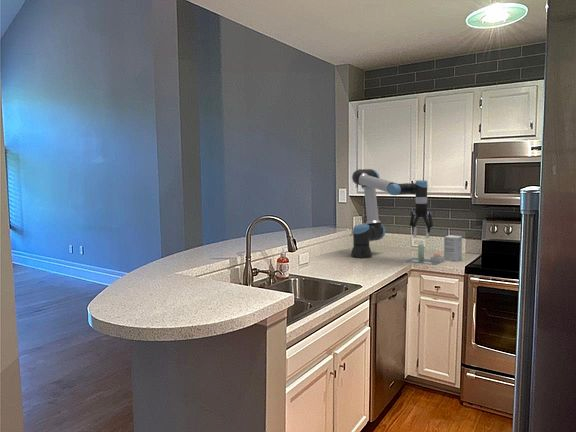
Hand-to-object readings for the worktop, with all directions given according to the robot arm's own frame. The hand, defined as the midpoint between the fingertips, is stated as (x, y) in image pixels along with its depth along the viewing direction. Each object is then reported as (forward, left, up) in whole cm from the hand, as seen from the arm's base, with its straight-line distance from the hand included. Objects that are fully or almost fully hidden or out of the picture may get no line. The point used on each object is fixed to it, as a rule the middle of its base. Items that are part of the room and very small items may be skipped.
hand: (421, 237), depth 282 cm
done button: (+9, +6, -15) cm, 18 cm away
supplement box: (+15, +18, -17) cm, 29 cm away
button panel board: (+2, +2, -17) cm, 17 cm away
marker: (0, 0, -17) cm, 17 cm away
